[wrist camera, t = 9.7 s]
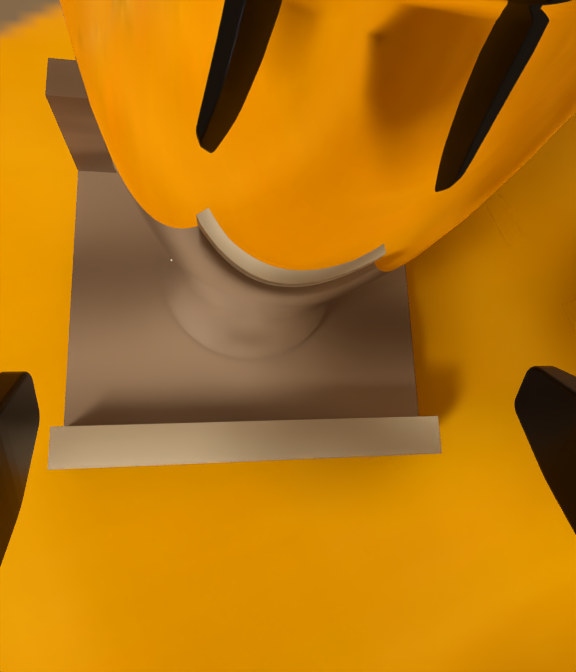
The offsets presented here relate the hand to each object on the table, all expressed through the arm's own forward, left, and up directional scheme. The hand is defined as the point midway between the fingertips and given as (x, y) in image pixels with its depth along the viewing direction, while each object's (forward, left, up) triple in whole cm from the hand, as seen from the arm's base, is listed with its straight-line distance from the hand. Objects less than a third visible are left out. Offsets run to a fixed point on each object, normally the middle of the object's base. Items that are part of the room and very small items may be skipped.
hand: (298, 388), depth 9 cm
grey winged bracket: (+4, -2, -9) cm, 10 cm away
